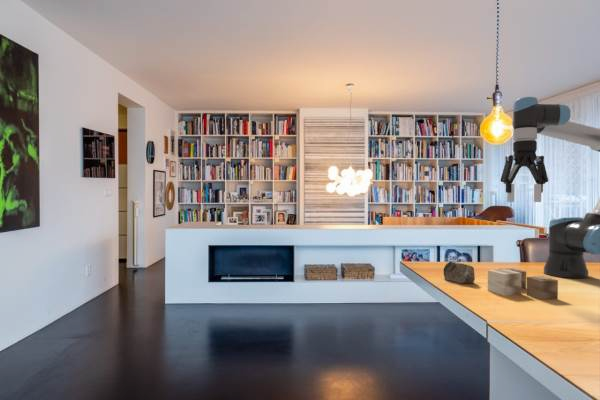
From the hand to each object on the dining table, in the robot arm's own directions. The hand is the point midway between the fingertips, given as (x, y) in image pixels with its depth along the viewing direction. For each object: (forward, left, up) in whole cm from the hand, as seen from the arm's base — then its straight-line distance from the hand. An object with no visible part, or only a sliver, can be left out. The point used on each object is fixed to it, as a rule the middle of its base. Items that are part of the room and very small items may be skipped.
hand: (524, 201), depth 146 cm
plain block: (+16, +12, -30) cm, 36 cm away
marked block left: (+8, +19, -30) cm, 36 cm away
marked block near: (+8, +5, -30) cm, 31 cm away
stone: (+22, -6, -30) cm, 38 cm away
